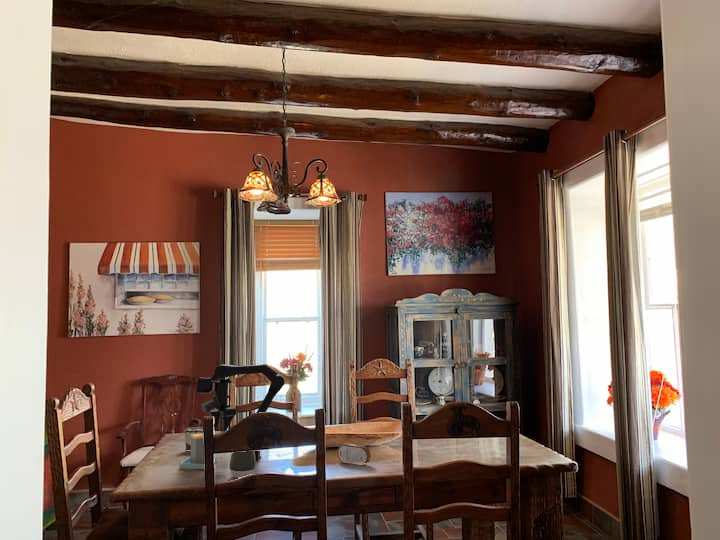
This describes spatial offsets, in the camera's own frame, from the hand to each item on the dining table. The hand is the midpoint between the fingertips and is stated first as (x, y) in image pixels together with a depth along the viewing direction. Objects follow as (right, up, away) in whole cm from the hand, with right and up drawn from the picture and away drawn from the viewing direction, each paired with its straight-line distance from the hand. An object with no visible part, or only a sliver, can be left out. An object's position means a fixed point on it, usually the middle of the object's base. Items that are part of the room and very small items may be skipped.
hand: (220, 429), depth 227 cm
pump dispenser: (+15, -11, -25) cm, 31 cm away
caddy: (-6, -11, -10) cm, 17 cm away
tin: (+59, -14, -6) cm, 61 cm away
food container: (-14, -15, +15) cm, 26 cm away
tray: (-6, -12, -10) cm, 17 cm away
